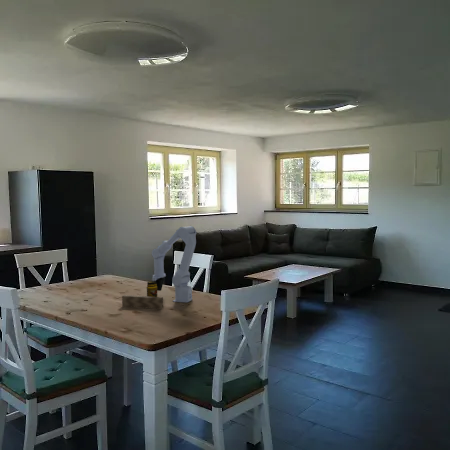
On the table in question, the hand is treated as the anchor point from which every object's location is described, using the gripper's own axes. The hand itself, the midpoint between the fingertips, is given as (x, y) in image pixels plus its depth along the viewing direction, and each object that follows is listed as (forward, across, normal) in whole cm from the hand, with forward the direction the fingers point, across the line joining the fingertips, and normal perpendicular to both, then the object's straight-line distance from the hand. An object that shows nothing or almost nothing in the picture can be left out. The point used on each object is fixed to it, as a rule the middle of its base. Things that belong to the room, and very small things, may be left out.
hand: (159, 290), depth 268 cm
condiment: (+5, +12, 0) cm, 12 cm away
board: (+4, +24, +1) cm, 24 cm away
